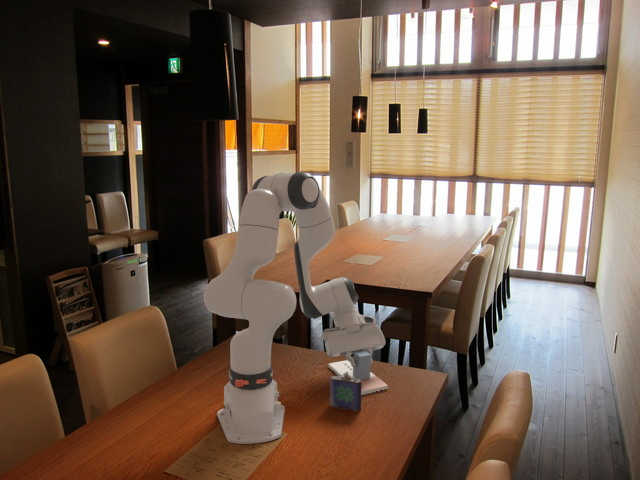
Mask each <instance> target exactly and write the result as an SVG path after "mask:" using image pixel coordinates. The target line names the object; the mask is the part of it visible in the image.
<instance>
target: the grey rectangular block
mask: <svg viewBox="0 0 640 480" xmlns="http://www.w3.org/2000/svg"><path fill="white" fill-rule="evenodd" d="M352 358H353V359H354V360H357V363H358V365H357V366H356V367H353V376H354V377H355V378H357V379H360V380H364V379H369V378H370V372H371V364H370V363H371V355H370V354H369V353H368V352H366V351H365V350H362V351H356V352H354V353H353V357H352Z"/></svg>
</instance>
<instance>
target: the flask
mask: <svg viewBox="0 0 640 480" xmlns="http://www.w3.org/2000/svg"><path fill="white" fill-rule="evenodd" d="M348 373H349V372H345V373H344V374H343V375H344V377H342V376H338V375H332V376H331V377H330V379H329V383H330V384H329V385H330V387H329V388H330V389H329V406H330V407H331V408H335V409H340V410H348V411H354V412H359V411H361V409H362V395H361V385H362V384H361V380H360V379H357V378H352V377H351V376H350V375H348Z"/></svg>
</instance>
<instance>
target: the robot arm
mask: <svg viewBox="0 0 640 480" xmlns="http://www.w3.org/2000/svg"><path fill="white" fill-rule="evenodd" d="M244 197H245V198H244V201H243V203H242V207H241V211H240V214H239V220H238V226H237V234H236V241H235V245H234V251H233V252H232V253H233V254H232V257H231V258H230V261H229V263H228V264H227V266H226V267H225V268H224V270H223V271H222V272H221V273H219V274H218V276H216V277H214V278H213V279H211V280H210V281H209V283H207V285H206V287H205V289H204V293H203V301H204V304H205V307H206V309H207V311H208V312H209V313H213V314H215V315H218V316H221V317H223V318H231V319H232V318H234V319H240V320H247V321H248V324H249V325H248V328H244V329H242V330H241V331H239V332H237V333H235V334H234V335H233V337H232V338H231V340H230V344H229V345H230V346H229V347H230V348H229V349H230V357H229V358H230V359H229V360H230V365H229V367H228V380H229V381H228V382H227V383H226V384H225V385H224V387H223V395H224V396H223V408H221V409H219V410H218V411H217V415H216V416H217V418H218V421H219V424H220V426H221V428H222V431H223V433H224V436H225V438H226V440H227V442H229V443H232V444H238V445H239V444H241V445H242V444H243V445H246V444H260V443H266V442H270V441H273V440H274V441H275V440H276V439H280V438H281V436H282V433H283V426H284V418H285V411H286V409H285V406H284V405H283V404H282V402H281V401H278V397H280V391H278V382H277V381H276V380H274V378H273V377H274V376H273V374H274V371H273V370H274V369H273V364H272V361H271V359H272V343H273V338H274V335H275V333H276V331H277V329H278V328H280V326H281V325H282V324H283V323H285V322H287V321H288V320H289V319H290V318H291V317H292V316H293V315H294V312H296V308H297V296H296V293H295V290H294V289H293V288H292V286H291V285H288V284H285V283H282V282H279V281H275V280H268V279H257V278H256V279H255V278H254V277H255V274H256V272H257V271H258V270H259V269H260V268H262V267H264V266H266V265H268V264H270V263H271V262H273V260H275V257H276V254H277V247H278V246H277V245H278V238H279V228H280V215H281V213H282V212H293V214H294V218H295V222H296V224H297V228H298V239H297V241H296V242H295V243H294V245H293V253H294V263H295V271H296V276H297V282H298V287H299V305H300V309H301V312H302V313H303V315H304V316H306V317H307V318H310V319H313V320H317V319H318V318H321V317H323V316H325V315H327V314H328V315H329V314H332V316H333V320H332V321H333V323H334V324H333V325H334V326H335V327H331V328H325V329H324V330H323V331H322V333H321V337H322V339H323V341H324V345H325V352H326V355H327V356H328V357H329V358H335V357H342V356H344V357H345V359H346V360H348V361H349V362H350V363H351V366H352V367H356V366H357V365H358V363H357V360H354V359H353V357H352V354H353V353H354V352H356V351H362V350H365V351H366V352H368V353H369V354H370V355H371V363H370V365H372V364H373V363H374V361H373V358H372V357H373V352H374V351H375V350H376V351H377V350H380V349H381V350H382V348H384V346H385V345H386V339H385V335H384V334H383V331H382V330H381V328H380V327H379V325H377V324H376V323H377V319H376V318H375V317H374V316H370V315H369V316H367V315H363V314H360V312H359V310H358V309H357V308H356V304H357V302H358V299H359V295H358V293H357V292H356V291H357V290H356V289H355V285H354V281H353V280H352V279H349V278H348V277H345V276H343V277H338V278H333V279H331V280H329V281H327V282H323V283H320V284H318V285H315V286H313V285H312V283H311V274H310V262H311V261H312V260H313V258H314V257H316V256H317V255H318V254H319V253H320V252H321V251H323V250H324V249H325V248H326V247H327V246H328V245H329V244H330V243H331V242H332V240H333V239H334V237H335V234H336V226H335V225H336V224H335V221H334V217H333V215H332V211H331V208H330V206H329V203H328V201H327V199H326V197H325V195H324V193H323V192H322V189H321V188H320V186H319V182H318V181H317V179H316V178H315V177H314V176H313V175H312V174H311V173H309V172H303V171H297V172H279V173H275V174H274V173H273V174H271V175H264V176H262V177H259V178H258V179H257V180H256V181H255V182H254V183H253V186H252V187H251V190H250V191H249V192H248V193H247V194H246V195H245V196H244Z"/></svg>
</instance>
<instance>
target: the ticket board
mask: <svg viewBox="0 0 640 480" xmlns="http://www.w3.org/2000/svg"><path fill="white" fill-rule="evenodd" d="M327 367H328V368H329V369H330V371H332V372H334V374H335V375H336V376H342V377H344V375H343V374H344V373H345V372H349V373H348V375H350V376H351V377H352V378H355V377H354V376H353V367H352V366H351V363H350V362H349V361H348V360H347V359H346V360H345V359H344V360H342V361H341V360H340V361H334V362H330V363H328V366H327ZM361 384H362V385H361V396H363V395H368V394H373V392H374V393H377V392H376V391H378V392H381V391H380V390H383V391H385V390H384V389H389V385H388V384H387V383H386V382H384V381H383V380H382V379H381V378H380V377H378V376H376V375H375V374H374V373H372V372H371V371H370V378H369V379H364V380H361Z"/></svg>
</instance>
